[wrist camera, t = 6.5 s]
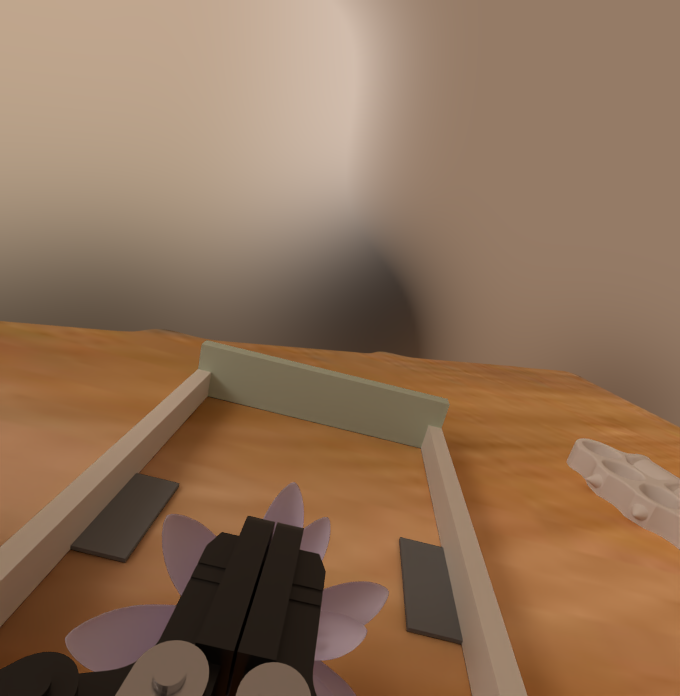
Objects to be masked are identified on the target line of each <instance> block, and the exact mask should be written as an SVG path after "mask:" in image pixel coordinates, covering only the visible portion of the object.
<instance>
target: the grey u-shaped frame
mask: <svg viewBox="0 0 680 696" xmlns="http://www.w3.org/2000/svg"><path fill="white" fill-rule="evenodd" d="M207 396H209V397H213V398H217V399H221V400H225V401H229V402H234V403H238V404H242V405H246V406H250V407H254V408H258V409H262V410H266V411H270V412H275V413H279V414H283V415H287V416H291V417H295V418H299V419H303V420H307V421H312V422H316V423H320V424H324V425H328V426H332V427H336V428H340V429H344V430H348V431H353V432H357V433H361V434H365V435H369V436H373V437H377V438H381V439H385V440H389V441H394V442H398V443H402V444H406V445H410V446H414V447H418V448H421V451H422V456H423V461H424V465H425V470H426V475H427V480H428V485H429V490H430V494H431V499H432V504H433V509H434V514H435V519H436V523H437V528H438V533H439V538H440V543H441V547H439V546H435V545H431V544H427V543H423V542H418V541H414V540H410V539H406V538H402V537H400V539H399V543H400V555H401V567H402V579H403V591H404V603H405V615H406V627H407V631H409V632H413V633H417V634H421V635H425V636H429V637H433V638H437V639H442V640H446V641H450V642H454V643H458V644H462V649H463V654H464V659H465V664H466V668H467V673H468V678H469V683H470V688H471V693H472V696H527V693H526V690H525V687H524V683H523V680H522V677H521V674H520V671H519V668H518V665H517V662H516V659H515V655H514V652H513V649H512V646H511V643H510V640H509V637H508V634H507V631H506V627H505V624H504V621H503V618H502V615H501V612H500V609H499V606H498V603H497V599H496V596H495V593H494V590H493V587H492V584H491V581H490V578H489V575H488V571H487V568H486V565H485V562H484V559H483V556H482V553H481V550H480V547H479V543H478V540H477V537H476V534H475V531H474V528H473V525H472V522H471V519H470V515H469V512H468V509H467V506H466V503H465V500H464V497H463V494H462V491H461V487H460V484H459V481H458V478H457V475H456V472H455V469H454V466H453V463H452V459H451V456H450V453H449V450H448V447H447V444H446V441H445V438H444V435H443V431H442V425H443V422H444V419H445V417H446V414H447V411H448V408H449V405H450V404H449V402H448V399H445V398H441V397H437V396H433V395H429V394H425V393H421V392H417V391H412V390H408V389H404V388H400V387H396V386H392V385H388V384H384V383H380V382H376V381H371V380H367V379H363V378H359V377H355V376H351V375H347V374H343V373H339V372H335V371H330V370H326V369H322V368H318V367H314V366H310V365H306V364H302V363H298V362H294V361H289V360H285V359H281V358H277V357H273V356H269V355H265V354H261V353H257V352H253V351H248V350H244V349H240V348H236V347H232V346H228V345H224V344H220V343H216V342H212V341H207V340H206V341H205V342H204V343H203V344H202V346H201V353H200V360H199V367H198V370H197V371H195V372H194V373H193V374H192V375H191V376H190V377H189V378H188V379H187V380H185V381H184V382H183V383H182V384H181V385H180V386H179V387H178V388H177V389H175V390H174V391H173V392H172V393H171V394H170V395H169V396H168V397H167V398H165V399H164V400H163V401H162V402H161V403H160V404H159V405H158V406H157V407H155V408H154V409H153V410H152V411H151V412H150V413H149V414H148V415H146V416H145V417H144V418H143V419H142V420H141V421H140V422H139V423H138V424H136V425H135V426H134V427H133V428H132V429H131V430H130V431H129V432H128V433H126V434H125V435H124V436H123V437H122V438H121V439H120V440H119V441H118V442H116V443H115V444H114V445H113V446H112V447H111V448H110V449H109V450H107V451H106V452H105V453H104V454H103V455H102V456H101V457H100V458H99V459H97V460H96V461H95V462H94V463H93V464H92V465H91V466H90V467H89V468H87V469H86V470H85V471H84V472H83V473H82V474H81V475H80V476H79V477H77V478H76V479H75V480H74V481H73V482H72V483H71V484H70V485H69V486H67V487H66V488H65V489H64V490H63V491H62V492H61V493H60V494H58V495H57V496H56V497H55V498H54V499H53V500H52V501H51V502H50V503H48V504H47V505H46V506H45V507H44V508H43V509H42V510H41V511H40V512H38V513H37V514H36V515H35V516H34V517H33V518H32V519H31V520H30V521H28V522H27V523H26V524H25V525H24V526H23V527H22V528H21V529H19V530H18V531H17V532H16V533H15V534H14V535H13V536H12V537H11V538H9V539H8V540H7V541H6V542H5V543H4V544H3V545H2V546H1V547H0V627H1V626H2V625H3V624H4V622H5V621H6V620H7V619H8V618H9V617H10V616H11V615H12V614H13V612H14V611H15V610H16V609H17V608H18V607H19V606H20V605H21V604H22V602H23V601H24V600H25V599H26V598H27V597H28V596H29V595H30V593H31V592H32V591H33V590H34V589H35V588H36V587H37V586H38V585H39V583H40V582H41V581H42V580H43V579H44V578H45V577H46V576H47V575H48V573H49V572H50V571H51V570H52V569H53V568H54V567H55V566H56V565H57V563H58V562H59V561H60V560H61V559H62V558H63V557H64V556H65V555H66V553H67V552H68V551H69V550H70V549H71V550H75V551H79V552H84V553H88V554H92V555H96V556H100V557H104V558H108V559H112V560H116V561H121V562H126V561H127V559H128V558H129V556H130V555H131V553H132V552H133V551H134V549H135V548H136V546H137V545H138V544H139V542H140V541H141V539H142V538H143V537H144V535H145V534H146V532H147V531H148V529H149V528H150V527H151V525H152V524H153V522H154V521H155V520H156V518H157V517H158V515H159V514H160V512H161V511H162V510H163V508H164V507H165V505H166V504H167V503H168V501H169V500H170V498H171V497H172V495H173V494H174V493H175V491H176V490H177V488H178V487H179V483H176V482H172V481H168V480H164V479H160V478H156V477H151V476H147V475H143V474H139V472H140V471H141V470H142V469H143V468H144V467H145V465H146V464H147V463H148V462H149V461H150V460H151V459H152V458H153V456H154V455H155V454H156V453H157V452H158V451H159V450H160V449H161V448H162V446H163V445H164V444H165V443H166V442H167V441H168V440H169V439H170V438H171V436H172V435H173V434H174V433H175V432H176V431H177V430H178V429H179V428H180V426H181V425H182V424H183V423H184V422H185V421H186V420H187V419H188V417H189V416H190V415H191V414H192V413H193V412H194V411H195V410H196V409H197V407H198V406H199V405H200V404H201V403H202V402H203V401H204V400H205V399H206V397H207Z"/></svg>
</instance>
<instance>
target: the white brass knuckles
mask: <svg viewBox="0 0 680 696" xmlns="http://www.w3.org/2000/svg"><path fill="white" fill-rule="evenodd" d="M567 464H568V466H569V467H570V468H572V469H574V470H575V471H577V472H578V473H579V474H580V475H582V476H583V477H584V479H585V480H586V482H587V485H588V486H589V487H590V488H591V489H592V490H593V491H594V492H595V493H596V494H597V495H598V496H599V497H601V498H603V499H605V500H607V501H608V502H610V503H611V504H612V505H614V506H615V507H616V508H617V509H618V510H619V511H620V512H621V513H622V514H623V515H624V516H625V517H626V518H628V519H630V520H631V521H633V522H634V523H636V524H637V525H639V526H641V527H642V528H644V529H646V530H649V531H651V532H653V533H655V534H657V535H659V536H661V537H662V538H664V539H666V540H667V541H669V542H670V543H672V544H673V545H674V546H676V547H677V548H678V549H679V550H680V479H679V478H678V477H676V476H675V475H673V474H671V473H670V472H668V471H667V470H665V469H663V468H662V467H660V466H659V465H657V464H655V463H654V462H652V461H651V460H650V458H648V457H646V456H644V455H640V454H628V453H624V452H621V451H618V450H616V449H614V448H612V447H610V446H608V445H606V444H603V443H601V442H598V441H594V440H591V439H578V440H576V442H575V444H574V446H573V448H572V451H571V453H570V455H569V457H568V459H567Z"/></svg>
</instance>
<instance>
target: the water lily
mask: <svg viewBox="0 0 680 696" xmlns="http://www.w3.org/2000/svg"><path fill="white" fill-rule="evenodd" d="M263 519H265V520H269V521H274V522H275V527H274V531H275V528H276V524H277V522H279V523H283V524H287V525H292V526H296V527H301V528H303V523H304V505H303V499H302V495H301V492H300V489H299V487H298V485H297V484H296V483H295V482H293V483H290V484H289V485H288V486H286V487H285V488H284V489H283V490H282V491H281V492H280V493H279V495H278V496H277V497H276V498H275V500H274V501H273V502H272V504H271V506H270V507H269V509H268V511H267V512H266V514H265V516H264V518H263ZM273 534H274V532H273ZM214 538H216V536H215V535H214V534H213V533H212V532H211V531H210V530H209V529H208V528H206V527H205V526H204V525H202V524H201V523H199V522H198V521H196V520H194V519H192V518H189V517H187V516H183V515H178V514H170V515H167V517H166V519H165V520H164V524H163V531H162V549H163V555H164V560H165V563H166V567H167V570H168V573H169V575H170V578H171V580H172V582H173V584H174V586H175V587H176V589H177V591H178V592H179V594H180V595H182V593H183V591H184V589H185V587H186V585H187V583H188V581H189V580H190V578H191V575H192V573H193V571H194V569H195V567H196V566H197V564H198V561H199V559H200V557H201V555H202V553H203V551H204V549H205V547H206V545H207V544H208V543H210V542H211V541H212V540H213V539H214ZM329 538H330V520H329V518H328V517H323V518H321V519H318V520H316V521H314V522H313V523H311V524H310V525H308V526H307V527H305V528H304V531H303V536H302V541H301V545H300V550H304V551H308V552H313V553H317V554H320V557H321V560H323V558H324V555H325V553H326V550H327V547H328V543H329ZM388 594H389V591H388V590H387V588H385V587H384V586H382V585H379V584H376V583H372V582H349V583H343V584H339V585H336V586H332V587H329V588H326V589H323V596H322V604H321V612H320V620H319V627H318V635H317V643H316V651H315V659H314V667H313V684H314V688H315V692H316V694H317V696H356V694H355V693H354V691H353V690H352V689H351V687H350V686H349V685H348V684H347V683H346V682H345V681H344V680H343V679H342V678H341V677H340V676H339V675H337V674H336V673H335V672H334V671H333V670H331V669H330V668H329V667H328V666H327V665H325V664H324V663H323V662H321V661H322V660H331V659H335V658H338V657H341V656H343V655H345V654H347V653H349V652H351V651H352V650H354V649H355V648H356V647H357V646H358V645H359V644H360V643H361V642H362V641H363V640H364V638H365V636H366V634H367V629H366V628H365V626H364V625H365V624H367V623H368V622H369V621H370V620H372V619H373V618H374V617H375V616H376V615H377V614H378V612H379V611H380V610H381V609H382V607H383V606H384V604H385V602H386V600H387V598H388ZM175 607H176V605H154V604H153V605H136V606H130V607H125V608H120V609H116V610H112V611H109V612H106V613H103V614H101V615H99V616H96V617H94V618H92V619H89V620H87V621H86V622H84V623H82V624H81V625H79V626H78V627H76V628H74V629H73V630H72V631H71V632H70V633H69V634H68V635H67V636H66V637H65V642H66V646H67V648H68V650H69V652H70V653H71V654H72V656H73V657H74V658H75V659H76V660H77V661H78V662H80V663H81V664H82V665H84V666H85V667H86V668H88V669H90V670H92V671H94V672H98V671H107V670H113V669H118V668H122V667H125V666H127V665H130V664H132V663H134V662H136V661H137V660H138V659H139V658H140V657H141V656H142V655H143V654H144V653H145V652H146V651H147V650H149V649H150V648H152V647H154V646H155V645H156V643H157V642H158V641H159V639H160V637H161V635H162V633H163V631H164V629H165V627H166V625H167V623H168V621H169V619H170V617H171V615H172V613H173V611H174V609H175Z"/></svg>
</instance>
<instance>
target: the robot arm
mask: <svg viewBox="0 0 680 696" xmlns="http://www.w3.org/2000/svg"><path fill="white" fill-rule="evenodd" d="M274 527H275V522H274V521H269V520H265V519H260V518H256V517H251V516H248V517H247V519H246V521H245V523H244V526H243V528H242V531H241V533H240V535H239V536H237V535H232V534H228V533H224V532H222V533H220V534H219V535H218V536H217V537H216V538H214V539H213V540H212V541H211V542H210V543H208V544H207V545H206V547H205V549H204V551H203V553H202V555H201V557H200V559H199V561H198V564H197V566H196V567H195V569H194V571H193V573H192V575H191V578H190V580H189V581H188V583H187V585H186V587H185V589H184V591H183V593H182V595H181V597H180V599H179V601H178V603H177V605H176V607H175V609H174V611H173V613H172V615H171V617H170V619H169V621H168V623H167V625H166V627H165V629H164V631H163V633H162V635H161V637H160V639H159V641H158V642H157V643H156V645H155V646H154V647H152V648H150V649H149V650H147V651H146V652H145V653H144V654H143V655H142V656H141V657H140V658H139V659H138V660H137V661H136V662H134V663H132V664H130V665H127V666H125V667H122V668H118V669H113V670H107V671H98V672H89V673H81V674H79V673H78V669H77V666H76V664H75V663H74V661H73V660H71V659H70V658H69V657H68V656H66V655H64V654H60V653H56V652H42V653H37V654H33V655H30V656H27V657H24V658H22V659H20V660H18V661H16V662H14V663H12V664H10V665H8V666H6V667H4V668H2V669H0V696H317V694H316V692H315V688H314V684H313V667H314V659H315V651H316V643H317V635H318V627H319V620H320V612H321V604H322V596H323V588H324V580H325V569H324V566H323V563H322V560H321V557H320V554H317V553H313V552H308V551H304V550H300V545H301V541H302V536H303V531H304V528H301V527H296V526H292V525H287V524H283V523H279V522H277V524H276V528H275V531H274ZM273 532H274V534H273Z"/></svg>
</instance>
